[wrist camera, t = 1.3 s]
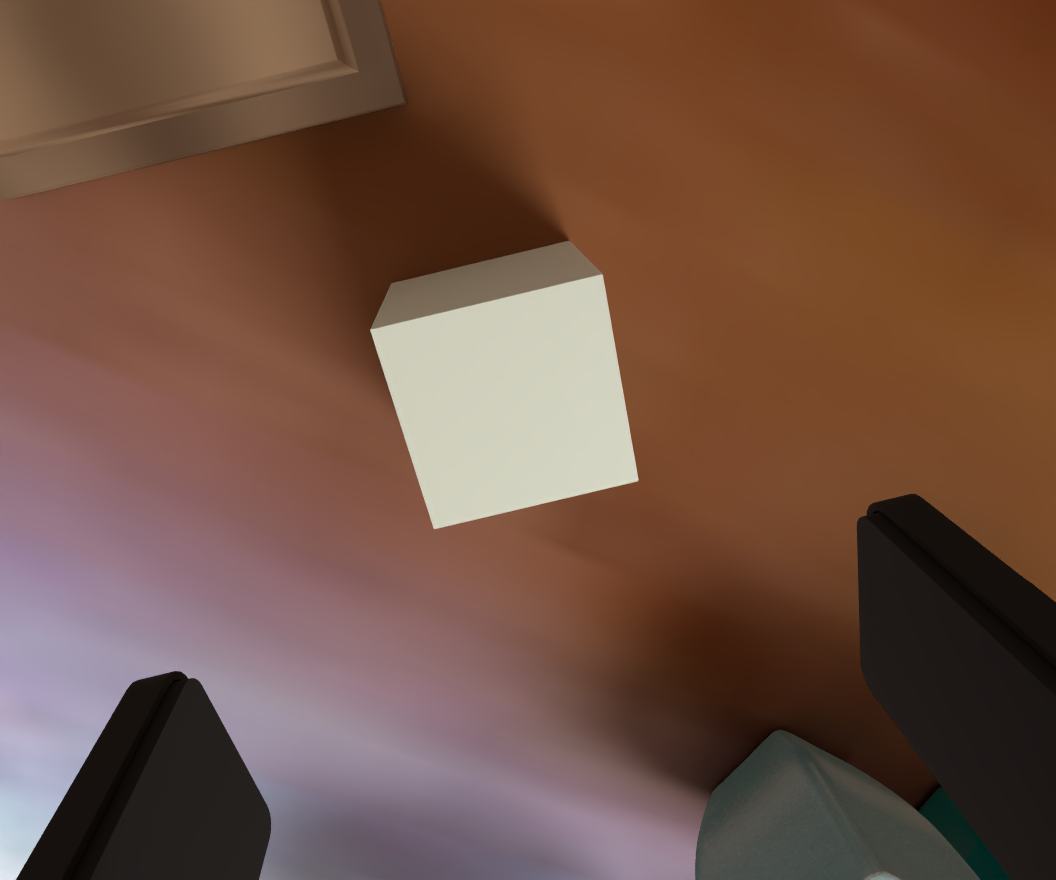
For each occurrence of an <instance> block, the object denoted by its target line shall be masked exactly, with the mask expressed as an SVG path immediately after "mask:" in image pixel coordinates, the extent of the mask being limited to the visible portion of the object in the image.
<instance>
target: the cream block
mask: <svg viewBox="0 0 1056 880" xmlns="http://www.w3.org/2000/svg"><path fill="white" fill-rule="evenodd" d="M370 331H371V334H372V337H373V340H374V344H375V347H376V350H377V353H378V356H379V359H380V362H381V365H382V368H383V372H384V375H385V378H386V381H387V384H388V387H389V390H390V393H391V396H392V400H393V403H394V406H395V409H396V412H397V415H398V418H399V421H400V424H401V428H402V431H403V434H404V437H405V440H406V443H407V446H408V449H409V452H410V456H411V459H412V462H413V465H414V468H415V471H416V474H417V477H418V480H419V484H420V487H421V490H422V493H423V496H424V499H425V502H426V505H427V509H428V512H429V515H430V518H431V521H432V524H433V527H434V529H437V528H441V527H446V526H450V525H454V524H458V523H463V522H467V521H471V520H475V519H480V518H484V517H488V516H492V515H496V514H501V513H505V512H509V511H513V510H518V509H522V508H526V507H530V506H535V505H539V504H543V503H547V502H552V501H556V500H560V499H564V498H568V497H573V496H577V495H581V494H585V493H590V492H594V491H598V490H602V489H607V488H611V487H615V486H619V485H624V484H628V483H632V482H636V481H638V475H637V469H636V463H635V458H634V452H633V446H632V441H631V435H630V429H629V423H628V418H627V412H626V406H625V400H624V395H623V389H622V383H621V377H620V372H619V366H618V360H617V355H616V349H615V343H614V337H613V332H612V326H611V320H610V314H609V309H608V303H607V297H606V291H605V286H604V280H603V274H602V273H601V272H600V271H599V270H598V269H597V268H596V267H595V266H594V265H593V264H592V263H591V262H590V261H589V260H588V259H587V258H586V257H585V256H584V255H583V254H582V253H581V252H580V251H579V250H578V249H577V248H576V247H575V246H574V245H573V244H572V243H571V241H566V242H561V243H557V244H553V245H549V246H545V247H541V248H536V249H532V250H528V251H524V252H520V253H516V254H511V255H507V256H503V257H499V258H495V259H491V260H486V261H482V262H478V263H474V264H470V265H466V266H461V267H457V268H453V269H449V270H445V271H441V272H436V273H432V274H428V275H424V276H420V277H416V278H411V279H407V280H403V281H399V282H395V283H391V285H390V287H389V290H388V292H387V294H386V296H385V298H384V301H383V303H382V305H381V307H380V309H379V311H378V314H377V316H376V318H375V320H374V322H373V325H372V327H371V329H370Z"/></svg>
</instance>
